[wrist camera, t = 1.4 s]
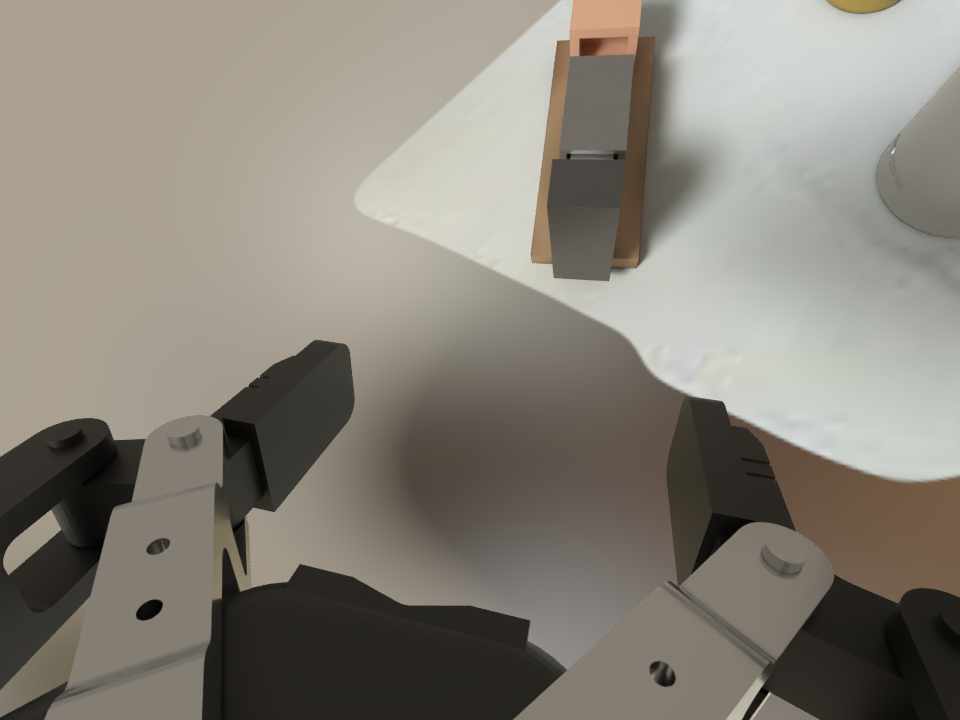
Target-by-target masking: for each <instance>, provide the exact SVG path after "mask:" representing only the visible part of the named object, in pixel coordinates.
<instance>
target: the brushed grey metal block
mask: <svg viewBox="0 0 960 720" xmlns="http://www.w3.org/2000/svg"><path fill="white" fill-rule="evenodd" d="M613 159H614V154H571V158H570V159H552V167H551V175H550V184H549V192H548V200H547V213H548V223H549V233H550V244H551V254H552V264H553V274H554V278H563V279H581V280H598V281H609V278H610V271H611V265H612V259H613V253H614V246H615V240H616V234H617V227H618V221H619V215H620V209H621V197H622V185H623V173H624V161H625V160H613Z"/></svg>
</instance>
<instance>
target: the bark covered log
mask: <svg viewBox="0 0 960 720" xmlns="http://www.w3.org/2000/svg"><path fill="white" fill-rule="evenodd" d="M827 1H828V2H829V3H830V4H831V5H833V6H834V7H836V8H838V9H840V10H843V11H847V12H851V13H871V12H876V11H879V10H882V9H885V8H887V7H889V6H891V5H893V4H894V3H896V2H898V1H899V0H827Z"/></svg>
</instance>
